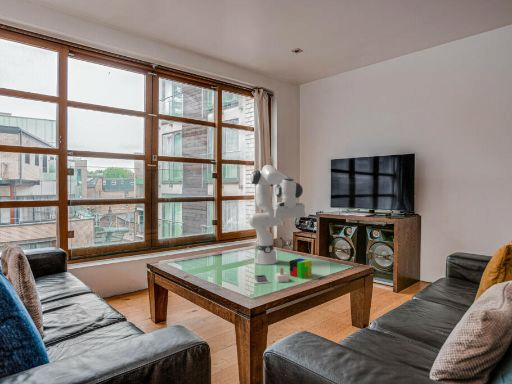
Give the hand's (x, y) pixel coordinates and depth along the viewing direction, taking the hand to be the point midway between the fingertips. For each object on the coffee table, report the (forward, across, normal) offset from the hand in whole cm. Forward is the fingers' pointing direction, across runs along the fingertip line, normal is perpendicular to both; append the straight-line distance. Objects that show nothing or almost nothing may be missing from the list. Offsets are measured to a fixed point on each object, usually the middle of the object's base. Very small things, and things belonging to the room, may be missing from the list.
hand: (289, 224), depth 215 cm
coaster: (+34, +21, +3) cm, 40 cm away
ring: (+34, +21, +3) cm, 40 cm away
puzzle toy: (+34, -7, -2) cm, 35 cm away
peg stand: (+34, +8, +5) cm, 35 cm away
